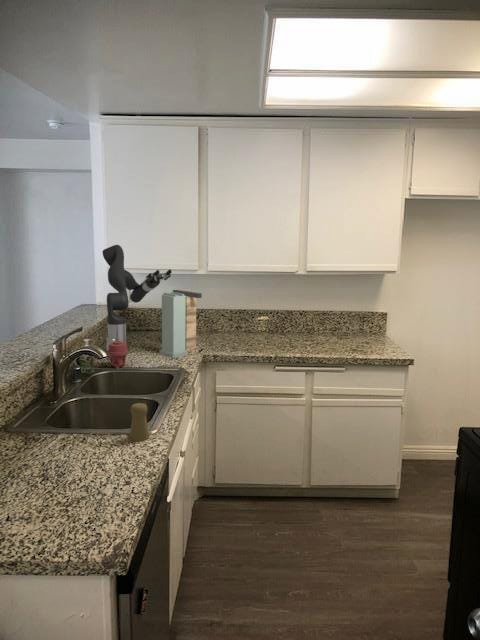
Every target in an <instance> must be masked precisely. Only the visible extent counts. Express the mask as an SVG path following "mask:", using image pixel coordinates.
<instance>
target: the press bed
mask: <svg viewBox="0 0 480 640" xmlns="http://www.w3.org/2000/svg"><path fill="white" fill-rule="evenodd" d="M190 349H191V350H195V349H197V298H194V297H187V296H186V309H185V351H191V350H190Z"/></svg>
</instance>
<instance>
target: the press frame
mask: <svg viewBox="0 0 480 640" xmlns="http://www.w3.org/2000/svg"><path fill="white" fill-rule="evenodd" d="M185 309H186V296H184V294H181V293H174V292H173V291H172V292H171V291H170V292H169V293H168V292H163V293H162V294H161V349H159V351H158V352H159V353H158V354H159V355H162V356H166V357H169V358H172V359H174V358H180V357H184V356H185V357H186V356H188V355H189V350H185Z"/></svg>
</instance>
